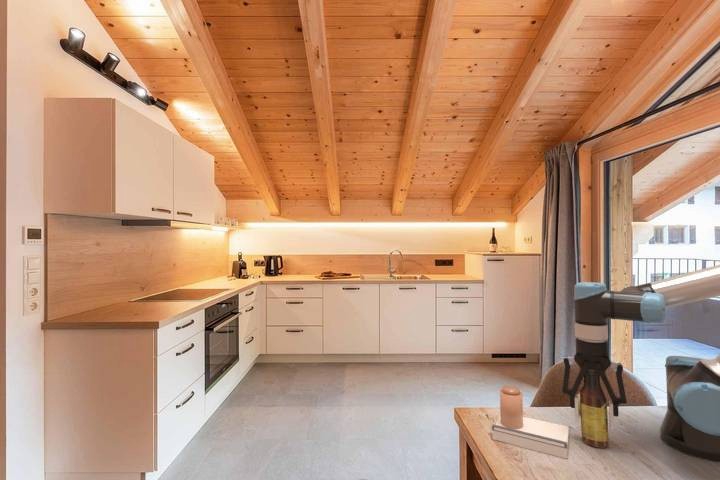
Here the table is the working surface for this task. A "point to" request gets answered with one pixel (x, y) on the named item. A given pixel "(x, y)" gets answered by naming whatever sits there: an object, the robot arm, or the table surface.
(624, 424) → the table surface
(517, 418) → the terracotta jar
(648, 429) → the table surface
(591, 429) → the sauce bottle
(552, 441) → the white rectangular box
